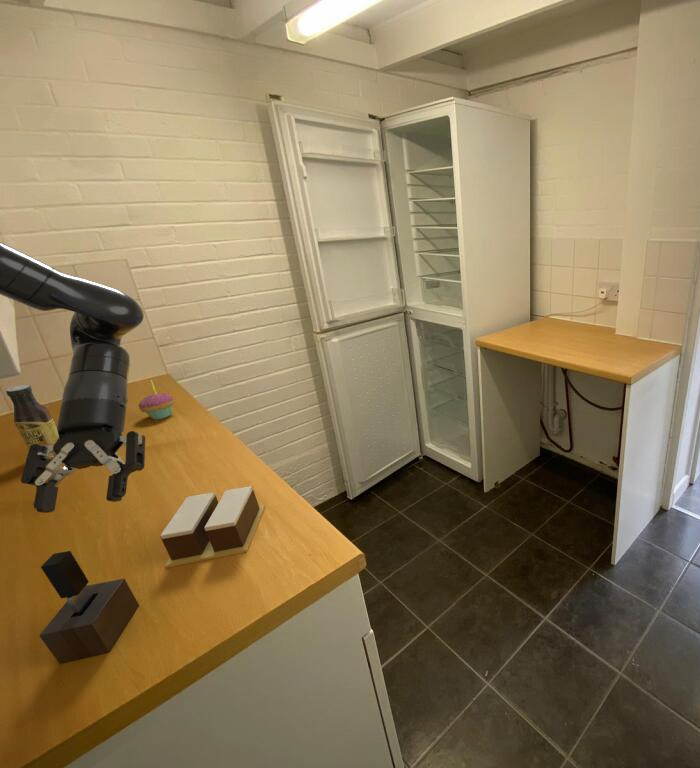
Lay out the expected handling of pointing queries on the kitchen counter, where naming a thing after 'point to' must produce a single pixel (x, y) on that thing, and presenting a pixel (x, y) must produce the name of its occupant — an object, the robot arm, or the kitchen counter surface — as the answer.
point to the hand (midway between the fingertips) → (80, 506)
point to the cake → (212, 526)
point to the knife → (69, 581)
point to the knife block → (91, 623)
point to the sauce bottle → (32, 418)
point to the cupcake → (157, 404)
